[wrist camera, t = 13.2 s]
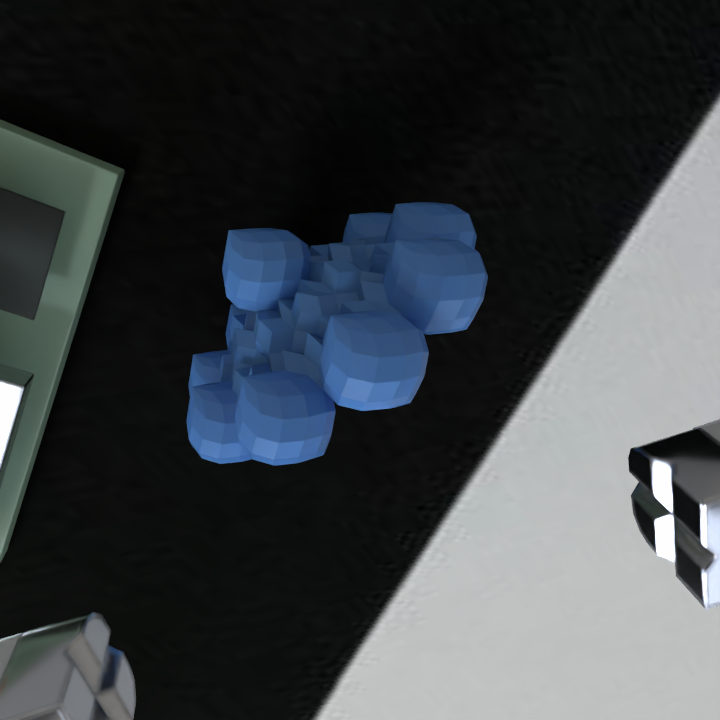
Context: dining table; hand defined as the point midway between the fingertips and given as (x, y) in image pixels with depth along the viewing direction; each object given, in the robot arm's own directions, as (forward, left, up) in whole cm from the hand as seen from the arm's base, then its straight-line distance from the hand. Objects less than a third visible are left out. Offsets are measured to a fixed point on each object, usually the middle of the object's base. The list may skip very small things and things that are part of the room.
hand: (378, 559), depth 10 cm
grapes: (0, 0, -18) cm, 18 cm away
